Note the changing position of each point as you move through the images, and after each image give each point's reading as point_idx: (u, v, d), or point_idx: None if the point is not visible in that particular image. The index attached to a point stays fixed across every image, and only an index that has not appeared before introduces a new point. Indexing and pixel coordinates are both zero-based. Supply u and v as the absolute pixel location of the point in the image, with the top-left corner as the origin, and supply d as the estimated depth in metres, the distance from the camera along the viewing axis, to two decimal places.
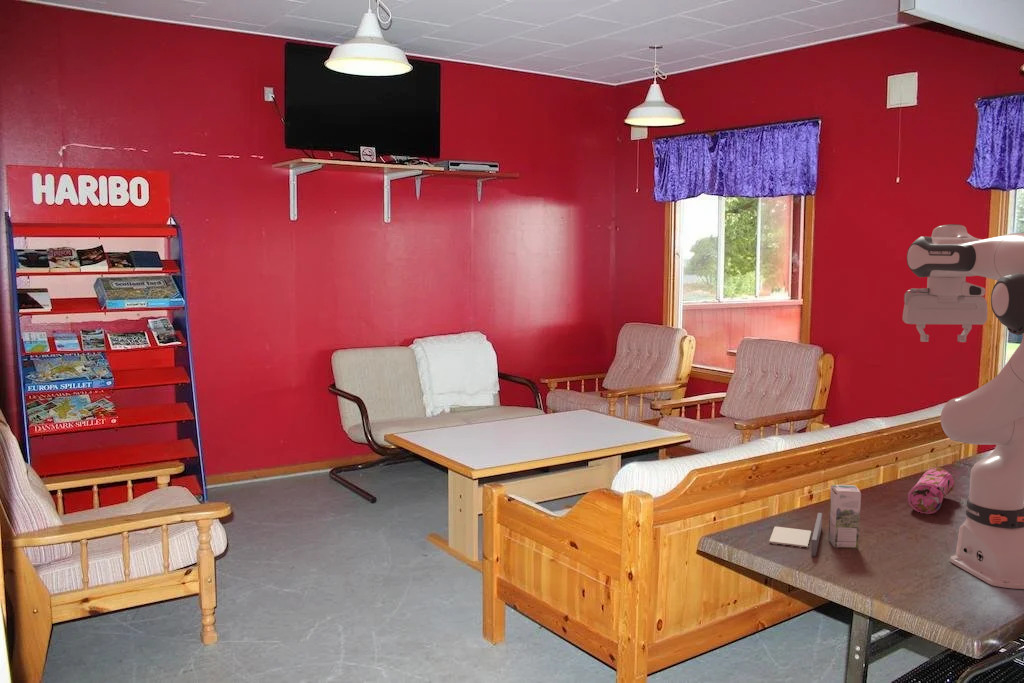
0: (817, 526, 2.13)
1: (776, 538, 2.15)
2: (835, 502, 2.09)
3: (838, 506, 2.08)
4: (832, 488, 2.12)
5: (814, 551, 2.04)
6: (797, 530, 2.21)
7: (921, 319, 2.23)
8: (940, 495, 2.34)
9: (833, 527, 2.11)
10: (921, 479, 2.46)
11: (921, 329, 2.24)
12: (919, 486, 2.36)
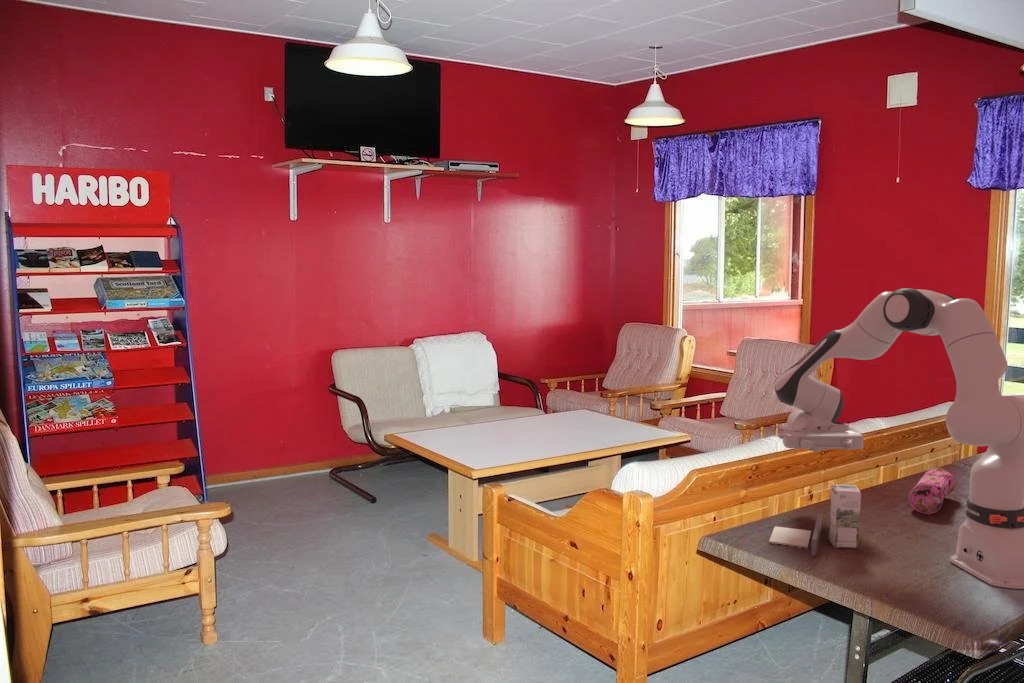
0: (817, 526, 2.13)
1: (776, 538, 2.15)
2: (835, 502, 2.09)
3: (838, 506, 2.08)
4: (832, 488, 2.12)
5: (814, 551, 2.04)
6: (797, 530, 2.21)
7: (799, 434, 2.28)
8: (941, 495, 2.34)
9: (833, 527, 2.11)
10: (922, 479, 2.46)
11: (803, 439, 2.25)
12: (920, 486, 2.35)
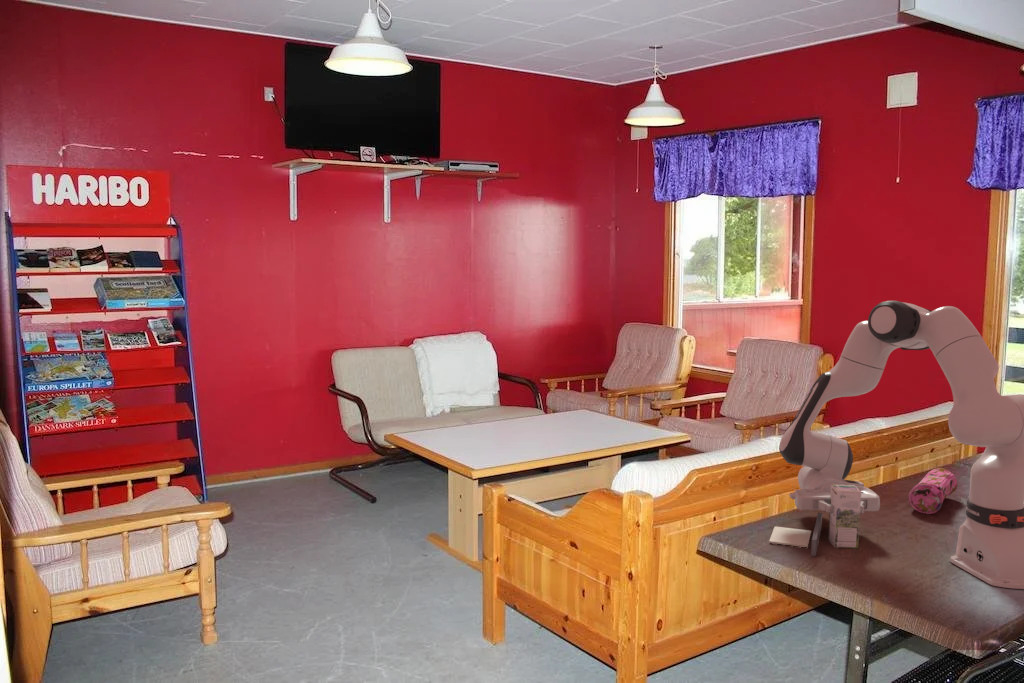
0: (817, 526, 2.13)
1: (776, 538, 2.15)
2: (835, 502, 2.09)
3: (838, 506, 2.08)
4: (832, 488, 2.12)
5: (814, 551, 2.04)
6: (797, 530, 2.21)
7: (812, 495, 2.16)
8: (941, 495, 2.34)
9: (833, 527, 2.11)
10: (923, 479, 2.46)
11: (821, 501, 2.13)
12: (920, 486, 2.36)
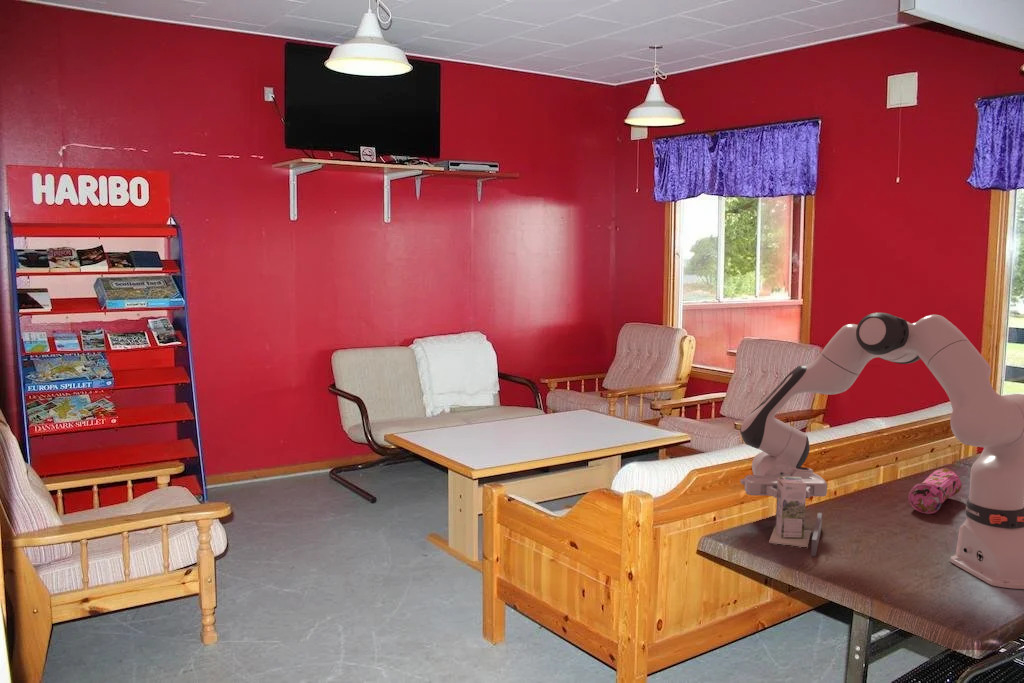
0: (817, 526, 2.13)
1: (776, 538, 2.15)
2: (781, 493, 2.14)
3: (784, 497, 2.13)
4: (779, 480, 2.17)
5: (814, 551, 2.04)
6: None
7: (760, 480, 2.21)
8: (940, 495, 2.34)
9: (780, 518, 2.16)
10: (926, 479, 2.46)
11: (769, 487, 2.18)
12: (919, 486, 2.36)
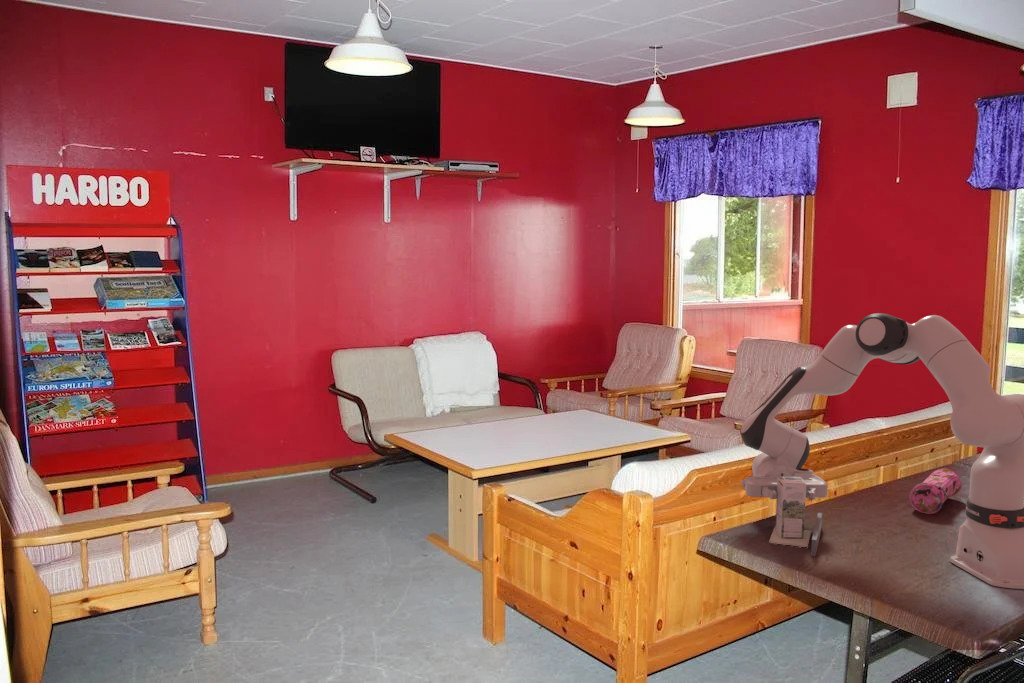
0: (817, 526, 2.13)
1: (776, 538, 2.15)
2: (781, 493, 2.14)
3: (784, 497, 2.13)
4: (779, 480, 2.17)
5: (814, 551, 2.04)
6: None
7: (761, 482, 2.21)
8: (941, 495, 2.33)
9: (780, 518, 2.16)
10: (926, 479, 2.46)
11: (765, 488, 2.18)
12: (920, 486, 2.36)
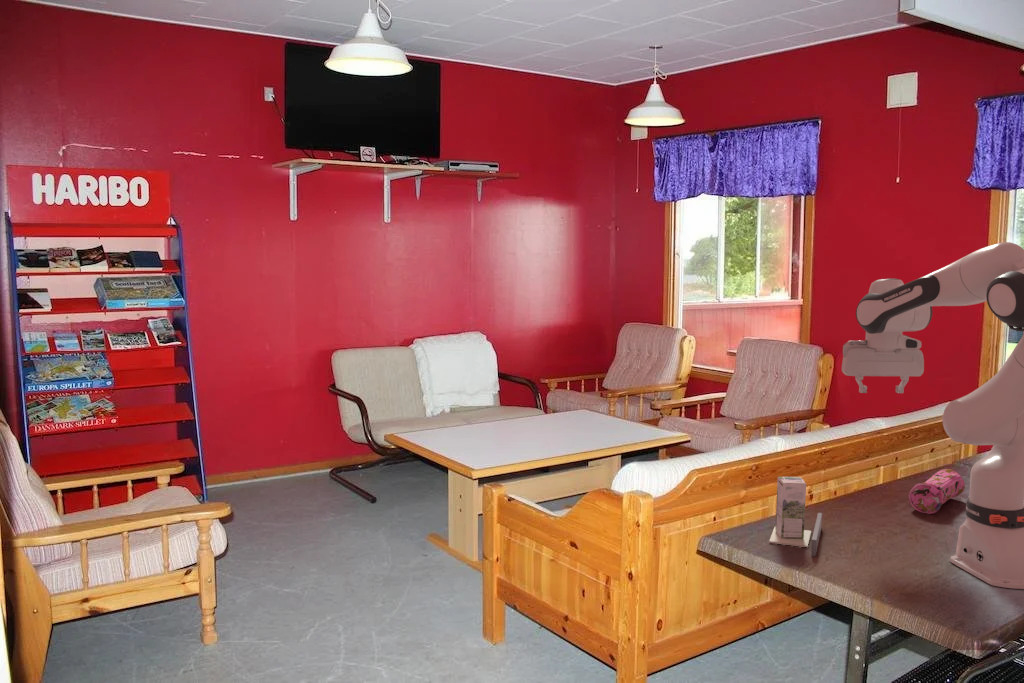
0: (817, 526, 2.13)
1: (776, 538, 2.15)
2: (781, 493, 2.14)
3: (784, 497, 2.13)
4: (779, 480, 2.17)
5: (814, 551, 2.04)
6: None
7: (859, 371, 2.26)
8: (940, 495, 2.34)
9: (780, 518, 2.16)
10: (928, 479, 2.46)
11: (859, 381, 2.27)
12: (919, 486, 2.36)
